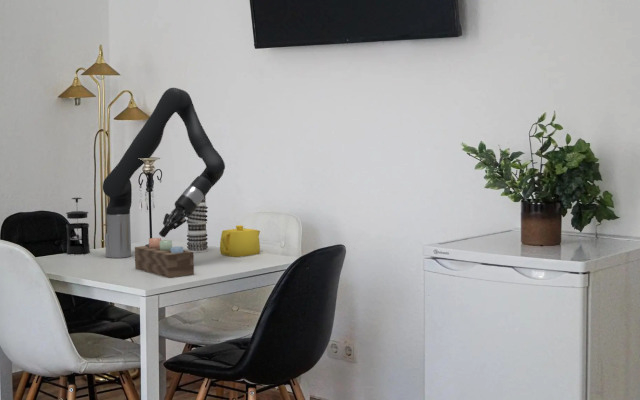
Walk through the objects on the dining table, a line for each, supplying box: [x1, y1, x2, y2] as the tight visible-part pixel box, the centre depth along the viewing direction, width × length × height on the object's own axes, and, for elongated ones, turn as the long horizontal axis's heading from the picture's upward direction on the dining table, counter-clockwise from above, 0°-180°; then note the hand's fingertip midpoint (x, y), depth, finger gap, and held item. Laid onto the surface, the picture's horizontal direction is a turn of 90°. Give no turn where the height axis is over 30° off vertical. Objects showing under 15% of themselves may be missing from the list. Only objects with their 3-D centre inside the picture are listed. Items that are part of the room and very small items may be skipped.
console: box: [134, 245, 195, 279], centre depth 308 cm, size 25×10×8 cm, turn 39°
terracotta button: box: [148, 237, 162, 248], centre depth 314 cm, size 4×4×6 cm
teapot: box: [219, 224, 261, 258], centre depth 348 cm, size 20×12×12 cm, turn 137°
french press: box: [65, 197, 91, 255], centre depth 352 cm, size 12×9×23 cm
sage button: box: [160, 239, 173, 251], centre depth 308 cm, size 4×4×6 cm
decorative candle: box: [185, 194, 209, 253], centre depth 355 cm, size 9×9×25 cm
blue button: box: [171, 246, 184, 253], centre depth 302 cm, size 4×4×6 cm
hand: (161, 235), depth 315 cm, fingers closed
